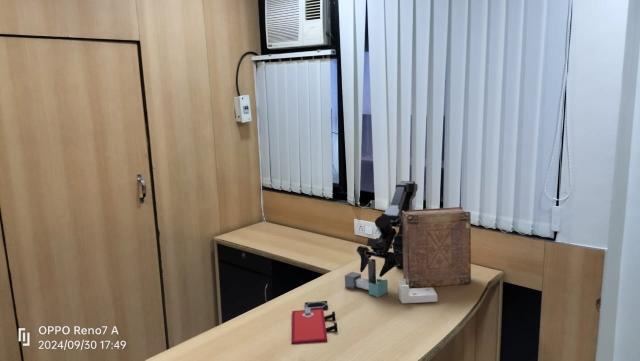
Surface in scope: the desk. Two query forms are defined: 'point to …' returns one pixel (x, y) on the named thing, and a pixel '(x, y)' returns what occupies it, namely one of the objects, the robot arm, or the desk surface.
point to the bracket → (415, 293)
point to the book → (436, 247)
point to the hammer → (371, 276)
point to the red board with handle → (311, 323)
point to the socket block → (378, 288)
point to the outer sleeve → (351, 280)
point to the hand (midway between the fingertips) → (370, 274)
